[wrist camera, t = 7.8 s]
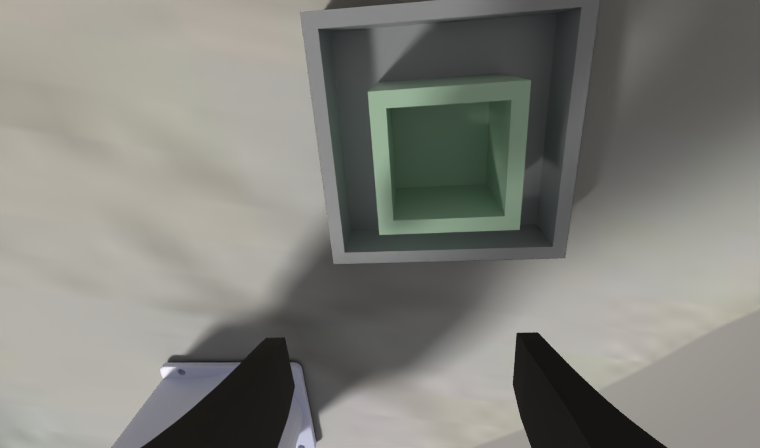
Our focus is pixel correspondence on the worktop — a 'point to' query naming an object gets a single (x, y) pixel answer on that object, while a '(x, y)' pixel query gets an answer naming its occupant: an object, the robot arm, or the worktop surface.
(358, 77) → the large crate
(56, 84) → the worktop surface
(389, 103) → the small crate
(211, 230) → the worktop surface
